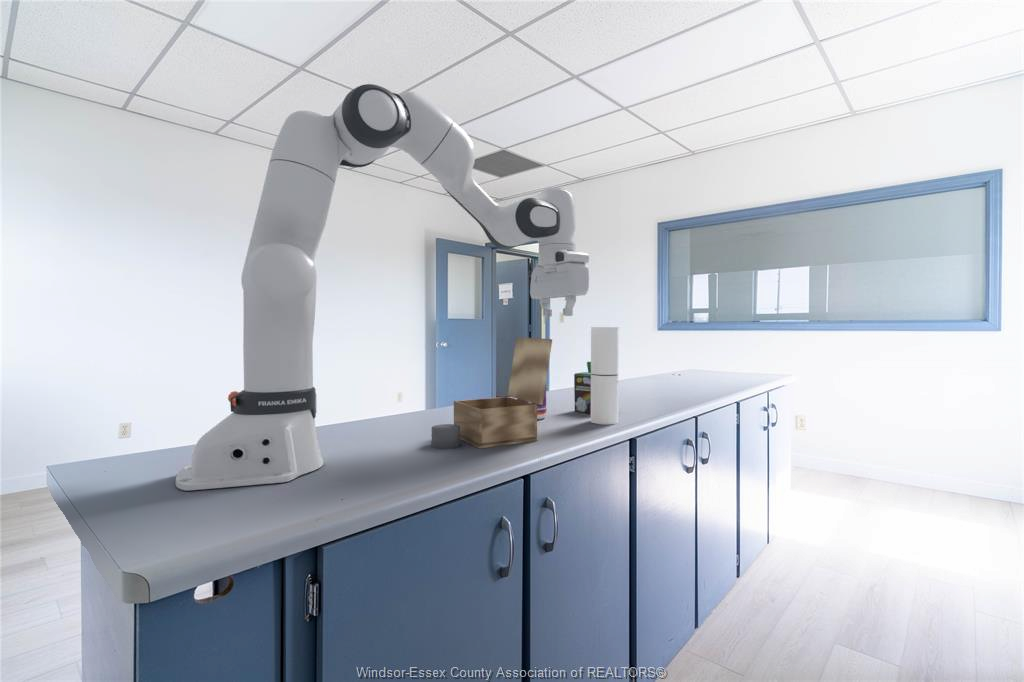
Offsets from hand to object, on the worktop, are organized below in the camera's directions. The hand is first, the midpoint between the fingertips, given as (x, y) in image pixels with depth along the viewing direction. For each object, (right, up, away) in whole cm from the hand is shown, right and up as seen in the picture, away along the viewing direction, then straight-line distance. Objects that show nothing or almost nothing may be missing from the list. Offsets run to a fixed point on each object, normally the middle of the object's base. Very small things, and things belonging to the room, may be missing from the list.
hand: (557, 316), depth 118 cm
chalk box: (+14, -27, +28) cm, 41 cm away
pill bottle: (-6, -27, +17) cm, 33 cm away
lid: (-7, -12, -4) cm, 15 cm away
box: (-15, -28, -7) cm, 32 cm away
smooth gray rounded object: (-25, -28, -14) cm, 40 cm away
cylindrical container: (+13, -28, +12) cm, 33 cm away
